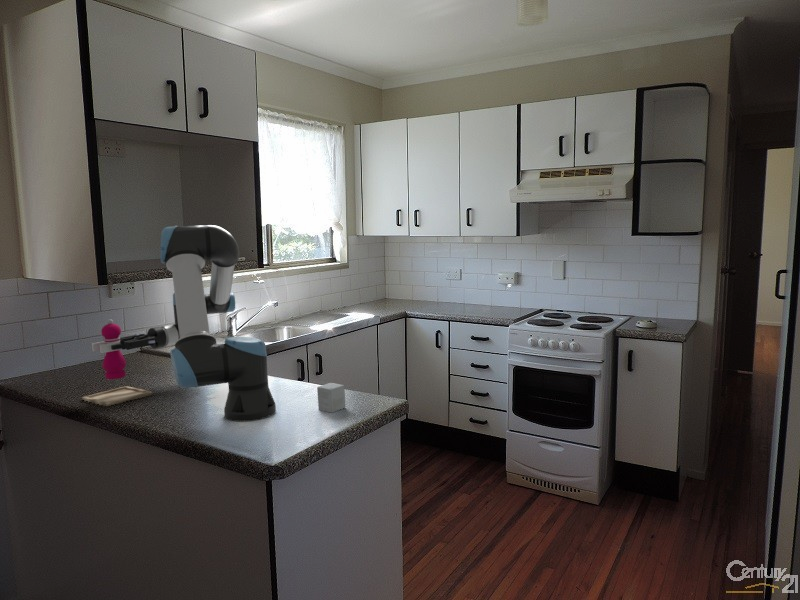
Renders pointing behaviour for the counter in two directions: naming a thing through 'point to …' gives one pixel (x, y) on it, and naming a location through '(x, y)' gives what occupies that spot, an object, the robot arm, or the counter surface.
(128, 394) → the oak tray
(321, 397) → the product box
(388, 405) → the counter surface
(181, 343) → the robot arm
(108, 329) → the pepper mill
